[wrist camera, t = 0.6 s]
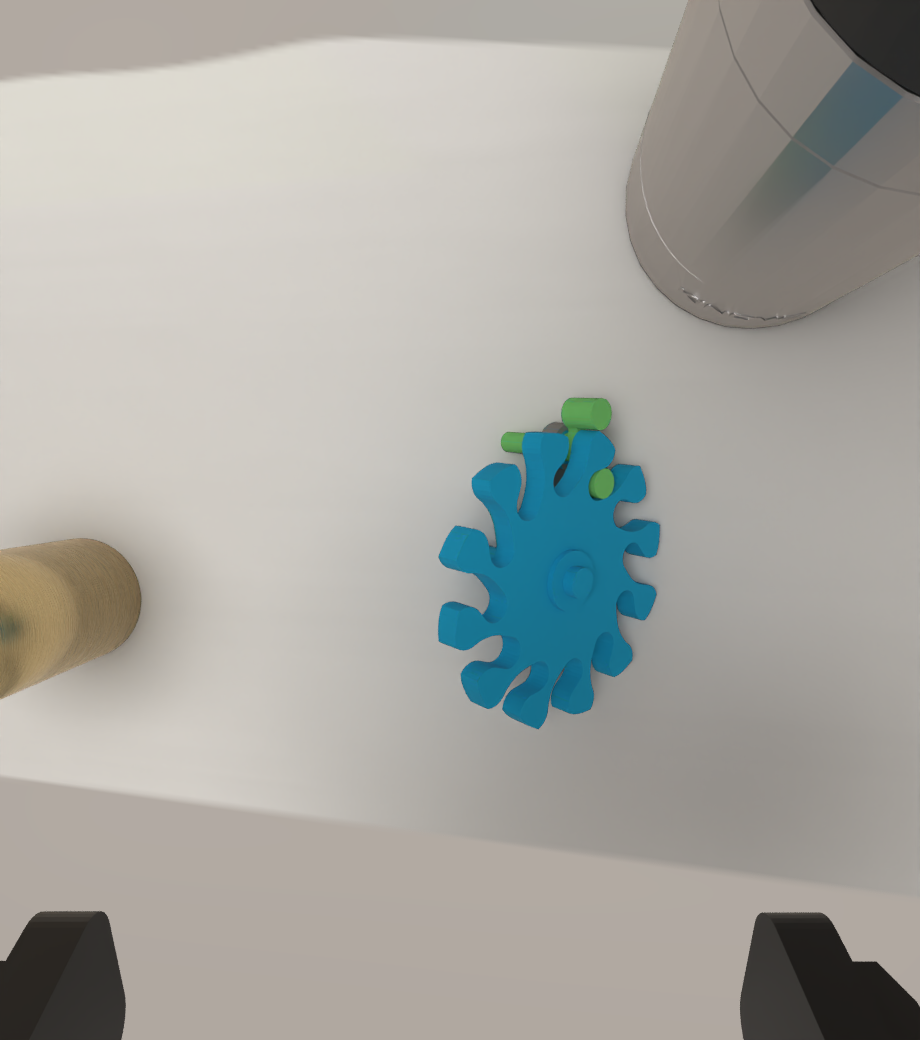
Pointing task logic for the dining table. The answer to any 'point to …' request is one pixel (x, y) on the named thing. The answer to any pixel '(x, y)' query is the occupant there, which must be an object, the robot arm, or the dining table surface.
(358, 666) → the dining table surface
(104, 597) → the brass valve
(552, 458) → the gear
